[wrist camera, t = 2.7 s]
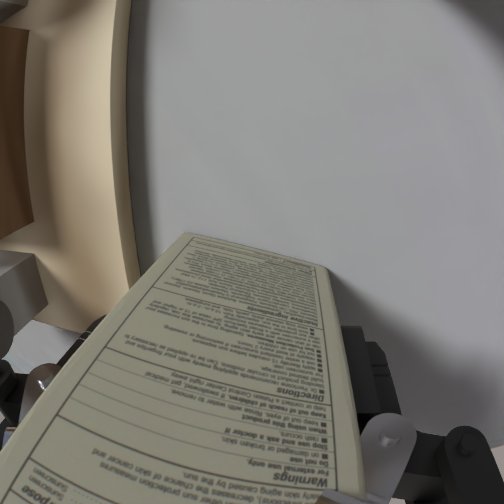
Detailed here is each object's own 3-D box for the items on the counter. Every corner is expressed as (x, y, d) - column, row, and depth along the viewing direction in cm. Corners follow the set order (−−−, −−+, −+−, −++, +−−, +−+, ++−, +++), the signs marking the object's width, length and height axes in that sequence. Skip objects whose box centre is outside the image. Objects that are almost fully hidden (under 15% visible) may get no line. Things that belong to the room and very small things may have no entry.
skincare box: (174, 312, 14) (40, 551, 3) (184, 224, 12) (-54, 500, 1) (304, 346, 14) (283, 622, 3) (336, 263, 12) (378, 633, 1)
